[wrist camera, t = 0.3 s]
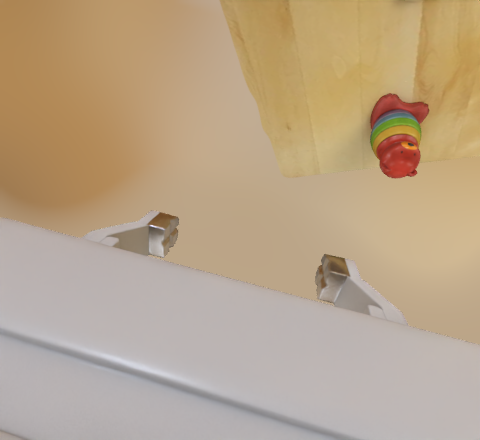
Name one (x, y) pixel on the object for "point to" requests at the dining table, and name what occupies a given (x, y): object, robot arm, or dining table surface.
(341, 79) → the dining table surface
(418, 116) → the stacking bear
